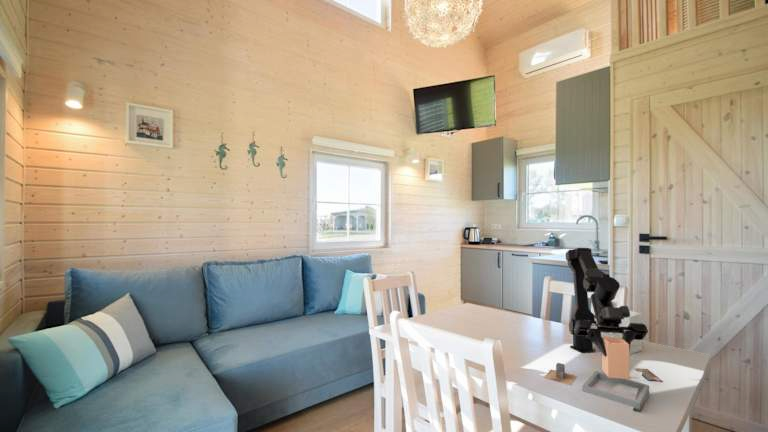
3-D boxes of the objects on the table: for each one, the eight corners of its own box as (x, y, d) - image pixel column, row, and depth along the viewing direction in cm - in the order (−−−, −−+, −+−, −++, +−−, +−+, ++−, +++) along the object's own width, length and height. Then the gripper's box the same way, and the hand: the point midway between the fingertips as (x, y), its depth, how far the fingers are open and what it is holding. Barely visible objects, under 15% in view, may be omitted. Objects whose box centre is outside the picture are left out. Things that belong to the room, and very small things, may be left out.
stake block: (543, 380, 114) (543, 365, 114) (550, 372, 120) (550, 357, 120) (571, 388, 109) (570, 372, 109) (577, 379, 115) (576, 363, 115)
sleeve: (608, 377, 103) (607, 343, 103) (602, 369, 108) (601, 336, 108) (629, 379, 102) (629, 344, 102) (622, 371, 107) (621, 338, 107)
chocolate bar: (666, 384, 111) (666, 382, 111) (648, 383, 112) (648, 381, 112) (647, 369, 122) (647, 367, 122) (631, 368, 123) (631, 366, 123)
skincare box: (626, 346, 142) (626, 309, 142) (643, 351, 137) (642, 312, 137) (614, 350, 139) (613, 312, 139) (630, 355, 133) (629, 315, 133)
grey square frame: (582, 394, 105) (582, 386, 105) (595, 378, 115) (595, 370, 115) (639, 412, 95) (639, 403, 95) (649, 393, 105) (649, 385, 105)
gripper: (576, 294, 111) (586, 341, 101) (644, 296, 106) (663, 347, 96) (570, 312, 119) (579, 358, 108) (634, 315, 114) (650, 364, 103)
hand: (616, 356), depth 104 cm, fingers closed on sleeve, 5 cm apart
